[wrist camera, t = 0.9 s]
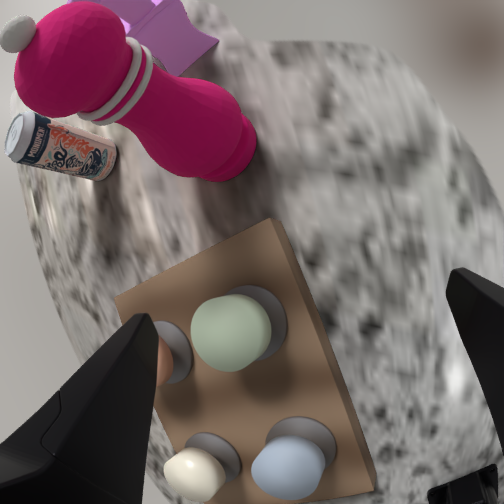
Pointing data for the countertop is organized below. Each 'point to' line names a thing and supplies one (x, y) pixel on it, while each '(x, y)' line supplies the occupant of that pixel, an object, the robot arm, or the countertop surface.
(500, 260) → the countertop surface
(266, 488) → the slate blue button
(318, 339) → the wooden button board
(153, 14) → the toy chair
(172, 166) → the pepper mill
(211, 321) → the sage button
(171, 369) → the terracotta button
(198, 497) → the cream button
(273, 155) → the countertop surface
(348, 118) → the countertop surface
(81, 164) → the beer can
